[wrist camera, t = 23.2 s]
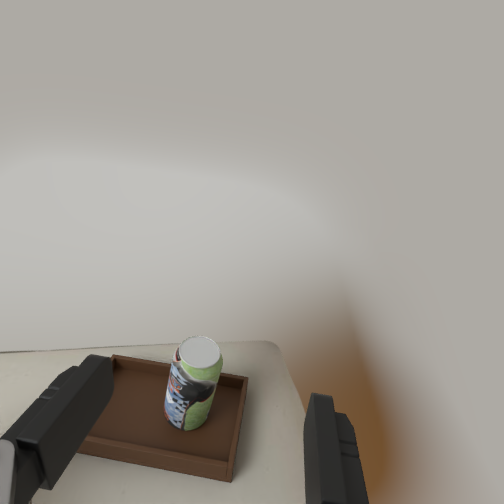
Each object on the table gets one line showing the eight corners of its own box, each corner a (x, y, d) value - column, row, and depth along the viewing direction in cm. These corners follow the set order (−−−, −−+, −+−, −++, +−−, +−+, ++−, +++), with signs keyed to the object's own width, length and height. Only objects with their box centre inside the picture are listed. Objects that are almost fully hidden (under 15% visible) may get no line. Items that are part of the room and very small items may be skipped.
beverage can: (174, 391, 44) (173, 324, 39) (223, 402, 43) (229, 334, 39) (155, 431, 39) (151, 358, 34) (211, 444, 38) (216, 371, 33)
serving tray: (246, 389, 47) (248, 377, 46) (231, 482, 35) (232, 468, 34) (114, 366, 48) (113, 354, 47) (55, 448, 36) (51, 433, 35)
